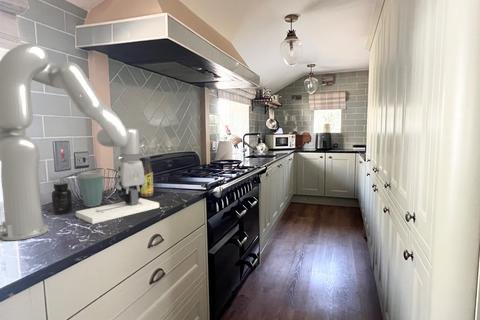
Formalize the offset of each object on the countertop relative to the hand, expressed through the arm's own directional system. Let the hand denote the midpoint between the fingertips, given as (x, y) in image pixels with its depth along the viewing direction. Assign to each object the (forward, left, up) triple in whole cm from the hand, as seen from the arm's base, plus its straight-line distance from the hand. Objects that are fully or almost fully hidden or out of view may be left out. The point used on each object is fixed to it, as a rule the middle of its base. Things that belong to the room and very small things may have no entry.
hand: (131, 201), depth 122 cm
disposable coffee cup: (-7, +20, -4) cm, 22 cm away
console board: (-5, 0, -3) cm, 6 cm away
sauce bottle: (+18, +16, -3) cm, 24 cm away
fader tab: (0, 0, -1) cm, 1 cm away
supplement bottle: (-20, +17, -4) cm, 27 cm away
